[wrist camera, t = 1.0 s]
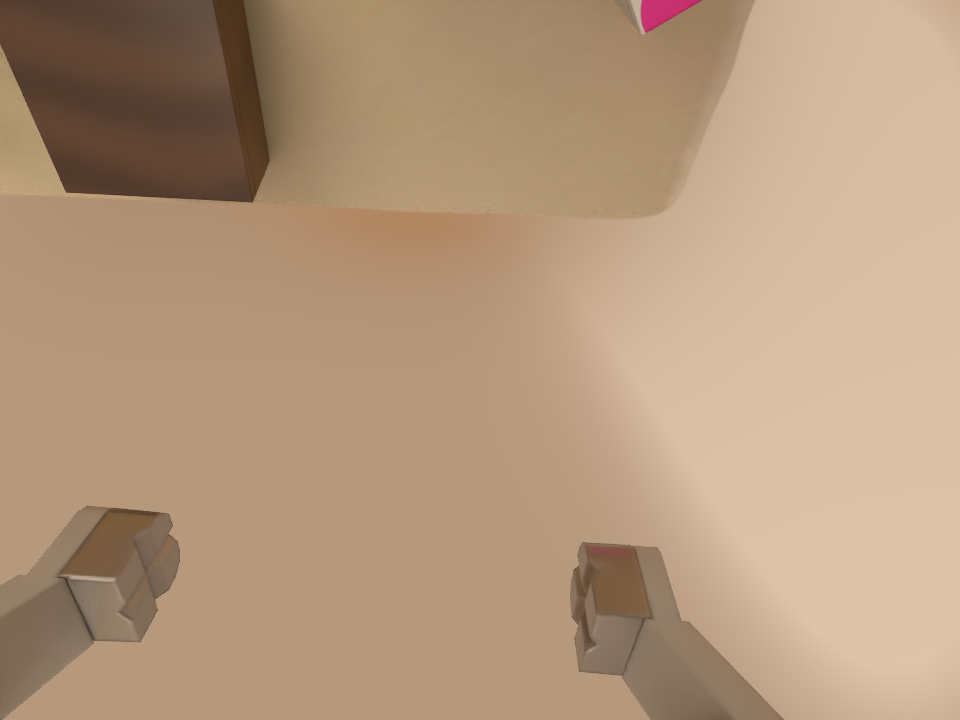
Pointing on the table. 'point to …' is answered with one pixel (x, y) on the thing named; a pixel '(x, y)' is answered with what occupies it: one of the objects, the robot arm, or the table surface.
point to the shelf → (141, 94)
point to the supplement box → (652, 11)
